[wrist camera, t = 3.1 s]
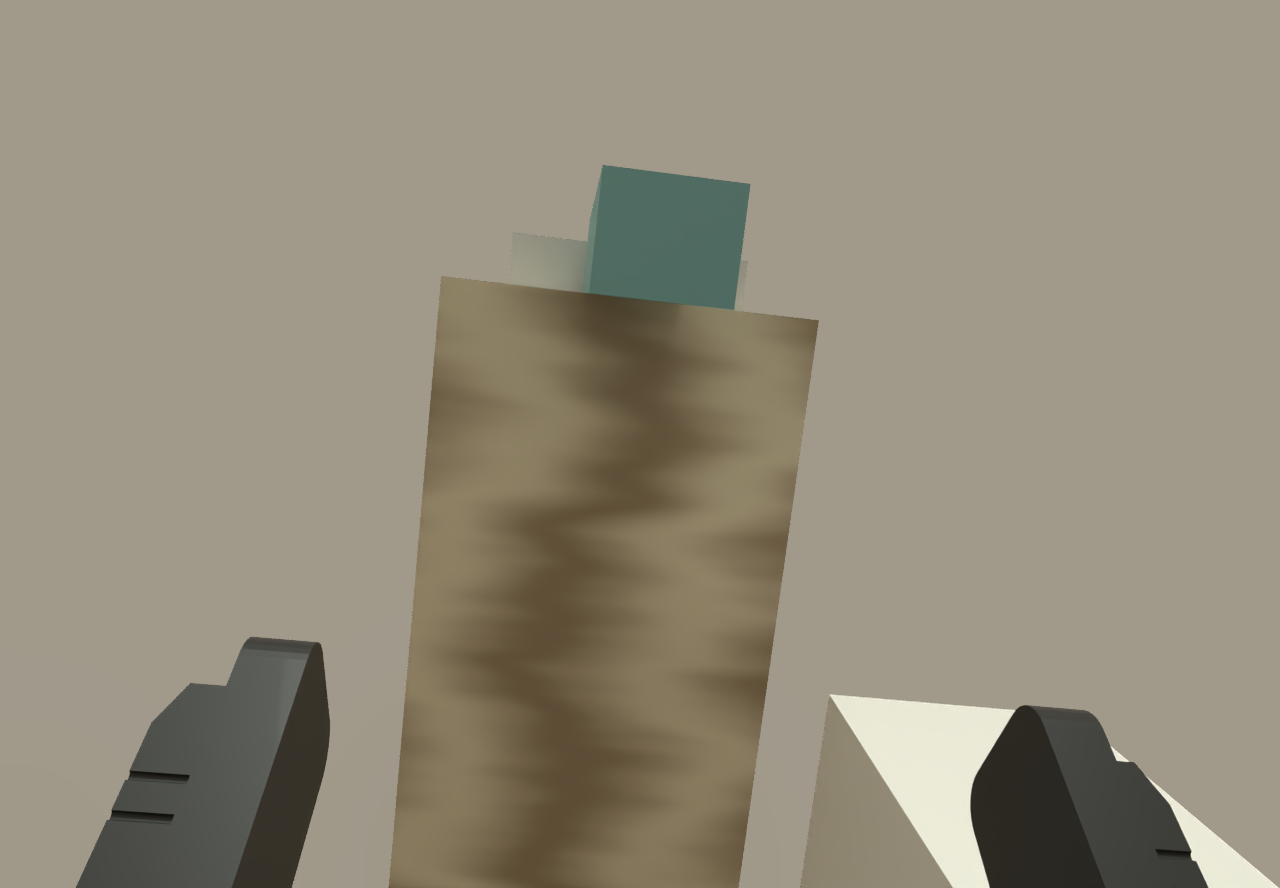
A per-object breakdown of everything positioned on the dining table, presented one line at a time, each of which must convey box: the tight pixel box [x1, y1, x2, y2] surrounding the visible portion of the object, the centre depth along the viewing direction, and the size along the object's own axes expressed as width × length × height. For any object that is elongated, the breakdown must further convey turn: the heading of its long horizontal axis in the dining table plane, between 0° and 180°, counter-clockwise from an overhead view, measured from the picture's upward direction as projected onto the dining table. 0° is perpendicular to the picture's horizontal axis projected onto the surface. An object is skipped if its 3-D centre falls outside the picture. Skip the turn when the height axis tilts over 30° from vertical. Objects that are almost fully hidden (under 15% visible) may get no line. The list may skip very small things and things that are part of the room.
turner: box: [508, 165, 750, 311], centre depth 27 cm, size 7×20×2 cm, turn 4°
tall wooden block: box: [389, 276, 819, 888], centre depth 34 cm, size 10×12×32 cm
